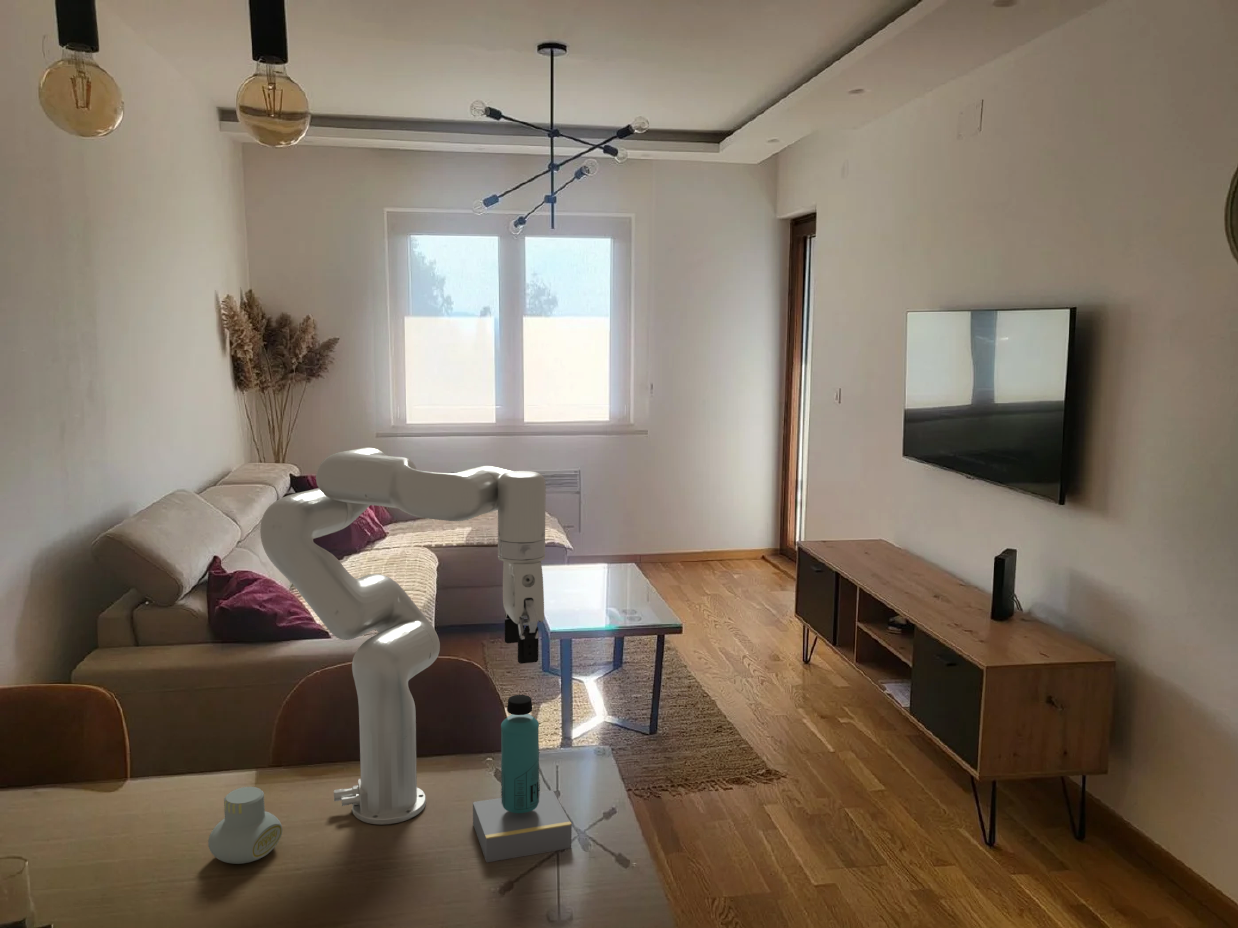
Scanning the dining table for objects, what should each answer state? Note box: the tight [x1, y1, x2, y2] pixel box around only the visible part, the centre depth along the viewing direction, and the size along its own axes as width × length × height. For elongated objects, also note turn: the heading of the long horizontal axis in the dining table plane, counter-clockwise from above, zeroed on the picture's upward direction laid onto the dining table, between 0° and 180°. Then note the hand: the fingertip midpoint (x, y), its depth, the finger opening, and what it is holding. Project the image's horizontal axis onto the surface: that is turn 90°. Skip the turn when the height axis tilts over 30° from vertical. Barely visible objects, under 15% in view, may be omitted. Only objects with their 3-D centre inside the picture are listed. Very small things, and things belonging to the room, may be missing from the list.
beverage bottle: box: [499, 694, 541, 813], centre depth 151 cm, size 6×7×20 cm
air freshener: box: [207, 786, 283, 865], centre depth 146 cm, size 11×8×10 cm
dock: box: [472, 789, 573, 863], centre depth 153 cm, size 14×12×4 cm
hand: (520, 651), depth 148 cm, fingers open, 9 cm apart
